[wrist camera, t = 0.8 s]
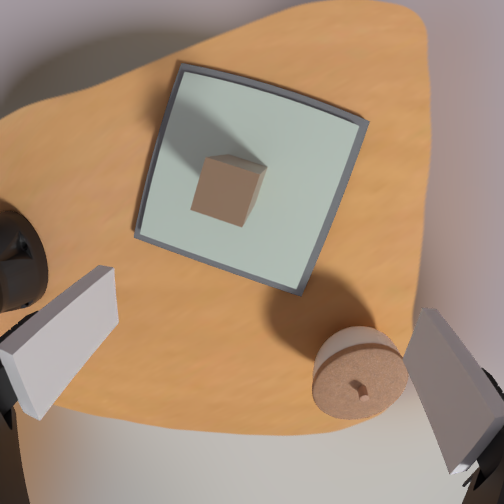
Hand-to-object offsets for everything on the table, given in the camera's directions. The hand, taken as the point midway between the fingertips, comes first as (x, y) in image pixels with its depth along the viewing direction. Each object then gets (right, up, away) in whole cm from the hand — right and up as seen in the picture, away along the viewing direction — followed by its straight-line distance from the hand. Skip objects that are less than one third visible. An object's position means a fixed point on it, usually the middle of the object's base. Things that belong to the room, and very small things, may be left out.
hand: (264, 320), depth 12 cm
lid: (-1, +10, +19) cm, 21 cm away
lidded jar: (+12, -9, +25) cm, 29 cm away
